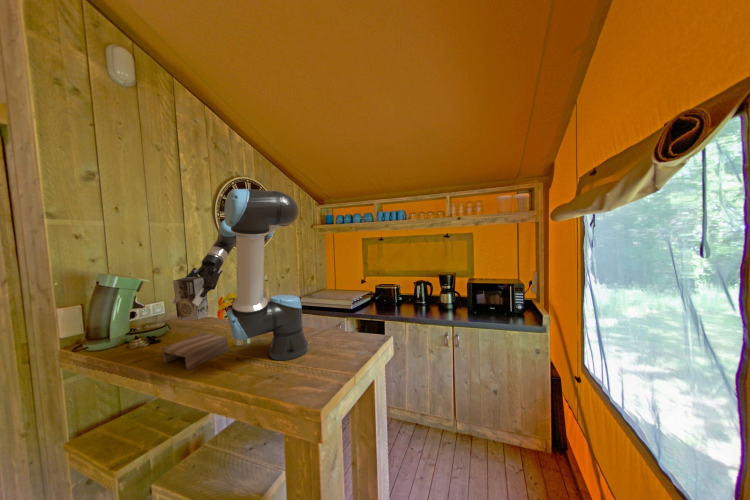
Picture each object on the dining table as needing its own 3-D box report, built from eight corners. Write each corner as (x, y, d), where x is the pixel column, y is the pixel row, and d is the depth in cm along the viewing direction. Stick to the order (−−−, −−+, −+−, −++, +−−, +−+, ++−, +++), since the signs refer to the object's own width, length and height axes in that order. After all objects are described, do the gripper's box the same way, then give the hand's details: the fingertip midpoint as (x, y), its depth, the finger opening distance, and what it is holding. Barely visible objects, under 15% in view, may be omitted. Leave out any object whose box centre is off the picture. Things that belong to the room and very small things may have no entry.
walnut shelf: (228, 350, 110) (227, 337, 110) (188, 369, 96) (187, 354, 95) (204, 345, 117) (203, 332, 117) (163, 362, 102) (161, 347, 102)
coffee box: (209, 314, 108) (206, 276, 107) (197, 320, 102) (193, 279, 100) (189, 315, 109) (185, 277, 108) (176, 320, 103) (172, 280, 101)
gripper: (240, 263, 116) (214, 309, 102) (200, 264, 121) (170, 307, 107) (230, 253, 110) (200, 299, 96) (188, 254, 116) (155, 298, 102)
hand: (184, 303), depth 102 cm, fingers closed on coffee box, 10 cm apart
